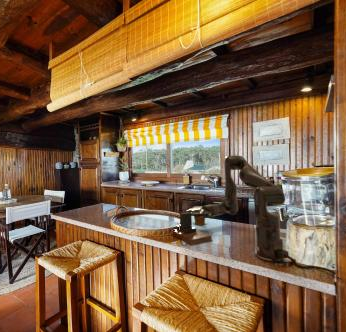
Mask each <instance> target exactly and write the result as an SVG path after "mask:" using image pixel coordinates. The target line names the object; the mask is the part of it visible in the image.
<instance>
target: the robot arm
mask: <svg viewBox="0 0 346 332" xmlns="http://www.w3.org/2000/svg"><path fill="white" fill-rule="evenodd" d="M223 166H224V181H225V186H224V187H225V189H224V199H225V200H226V201H222V202H220V203H216V204H207V205H203V206H202V208H201V209H197V208H193V207H192V208H189V209H187V210H185V212H190V213H191V215H193V218H194V217H204V218H205V219H206V218H213V217H217V216H222V215H225V214H226V213H227V214H229V215H231V216H234V215H237V213H238V211H239V204H238V199H237V195H238V187H237V184H236V182H235V181H234V178H233V177H232V173H231V171H239V173H238V177H239V180H240V181H241V182H242V183H243V184H244V185H245V186H246V187H248V188H251V189H253V202H254V203H253V204H254V214H255V233H256V234H255V236H256V241H255V243H256V244H255V249H256V257H257V258H259V259H261V260H263V261H266V262H271V263H274V264H275V263H278V262H282V261H284V259H289V260H290V261H291V262H292V264H293V265H294V266H296V267H298V268H301V269H318V270H323V271H325V272H326V271H327V272H329V273H331V274H333V275H334V276H335V271H334V270H333V269H331V268H326V267H323V266H318V265H313V264H312V265H311V264H310V265H309V264H308V265H303V264H299V263H297V262H296V260H295V259H294V258H293V257H291V256H290V255H289V251H287V250H285V249H284V240H283V239H282V238H281V217H280V215H279V214H276V213H273V212H270V211H268V209H267V207H280V206H283V205H284V204H285V202H286V195H285V193H284V191H283V190H282V189H281V188H280V187H279V186H278V185H276V184H275V183H273V182H271V181H270V180H268V179H267V178H266V177H265V176H264V175H262V174H261V173H260V172H259V171H258V170H257V169H255V168H254V167H253V166H252V165H251V164H250V163H249V162H248V161H247V160H246V159H245V157H244V156H242V155H227V156H226V157H225V158H224V165H223ZM193 212H194V213H193ZM195 212H196V213H195Z"/></svg>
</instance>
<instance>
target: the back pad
mask: <svg viewBox="0 0 346 332" xmlns="http://www.w3.org/2000/svg"><path fill="white" fill-rule="evenodd" d="M192 219H193V217H192V214H191V213H190V212H179V225H180V230H181V231H183V232H184V229H188V228H193V221H192Z"/></svg>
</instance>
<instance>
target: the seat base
mask: <svg viewBox="0 0 346 332" xmlns="http://www.w3.org/2000/svg"><path fill="white" fill-rule="evenodd" d="M179 225H180V224H179ZM179 225H176V226H175V227H176V229H174V230H175V231H174V233H173V232H172V236H174V237H175V238H177V239H179V240H181V241H183V242H185V243H187V244H189V245H190V246H194V245H195V246H196V245H198V244H199V245H200V244H204V243H208V242H212V235H211V234H208V233H206V232H203V231H201V230H198V229H197V227H195V226H194V227H193V226H192V228H188V229H184V232H183V231H181V230H179Z"/></svg>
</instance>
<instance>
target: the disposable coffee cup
mask: <svg viewBox="0 0 346 332" xmlns="http://www.w3.org/2000/svg"><path fill="white" fill-rule="evenodd" d="M202 207H203V206H201V205H195V206H193V207H192V208H197V209H201V208H202ZM193 213H194V212H193ZM195 213H196V212H195ZM193 218H194V224H195V225H197V226H205V223H206V217H205V218H204V217H194V216H193Z"/></svg>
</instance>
